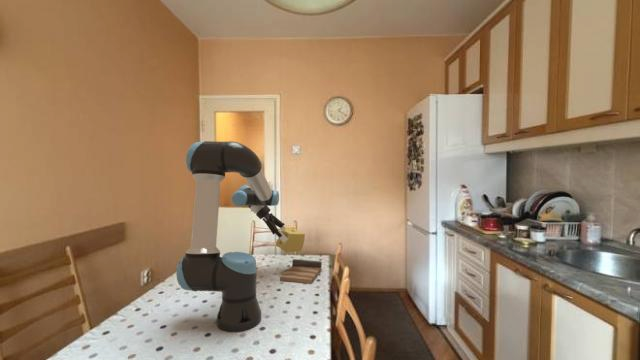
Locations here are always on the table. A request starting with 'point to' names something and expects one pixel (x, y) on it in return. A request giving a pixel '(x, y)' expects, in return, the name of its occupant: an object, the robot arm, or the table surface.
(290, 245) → the cheese
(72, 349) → the table surface
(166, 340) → the table surface
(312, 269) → the walnut board
